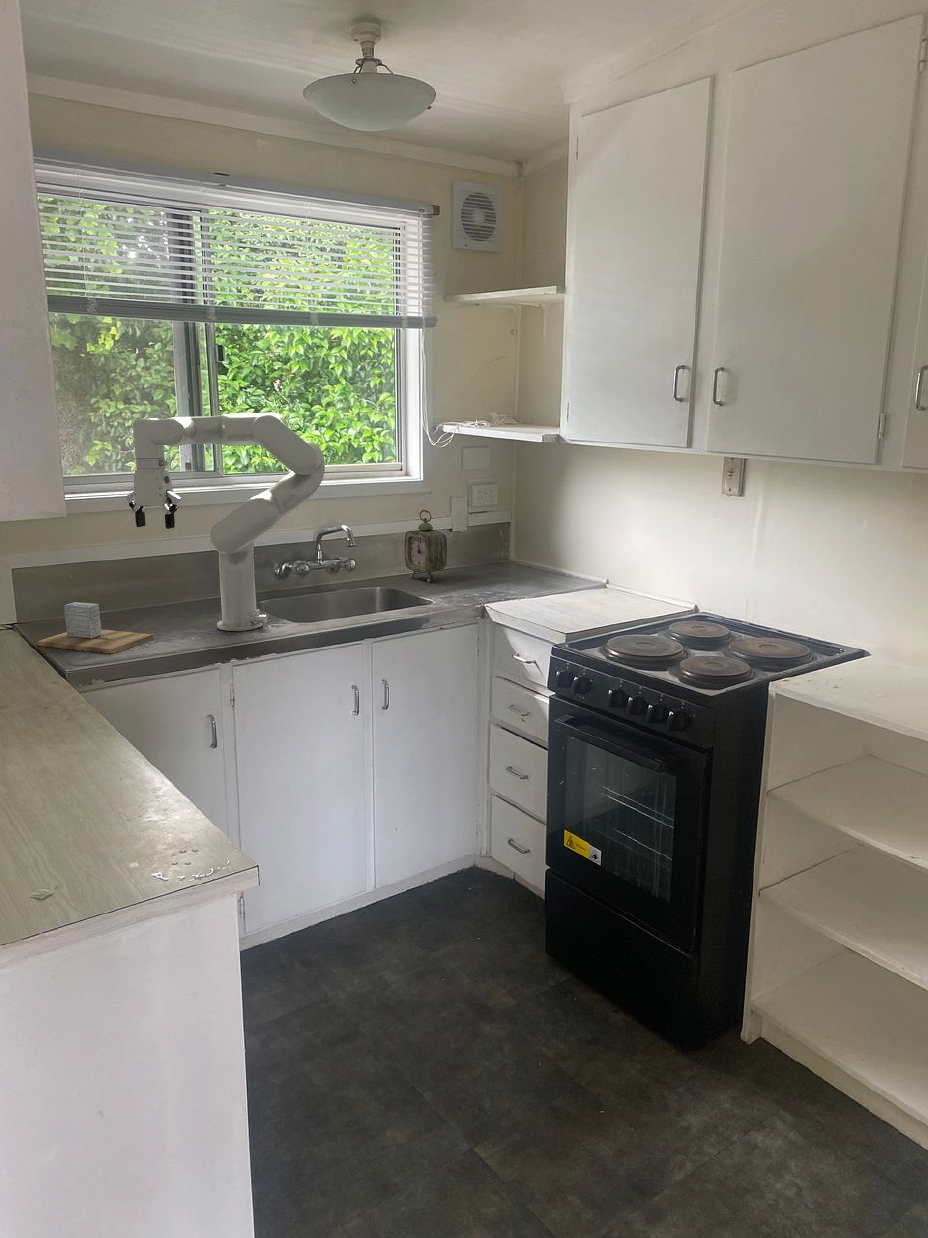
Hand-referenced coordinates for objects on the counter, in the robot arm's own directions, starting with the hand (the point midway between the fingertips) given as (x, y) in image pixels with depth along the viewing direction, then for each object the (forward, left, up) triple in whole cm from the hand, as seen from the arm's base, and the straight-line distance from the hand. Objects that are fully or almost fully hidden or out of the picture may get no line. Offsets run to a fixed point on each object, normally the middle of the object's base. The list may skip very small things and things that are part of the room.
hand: (155, 527), depth 255 cm
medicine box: (+10, +20, -27) cm, 35 cm away
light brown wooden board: (+6, +20, -28) cm, 35 cm away
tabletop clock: (-44, -90, -28) cm, 104 cm away
